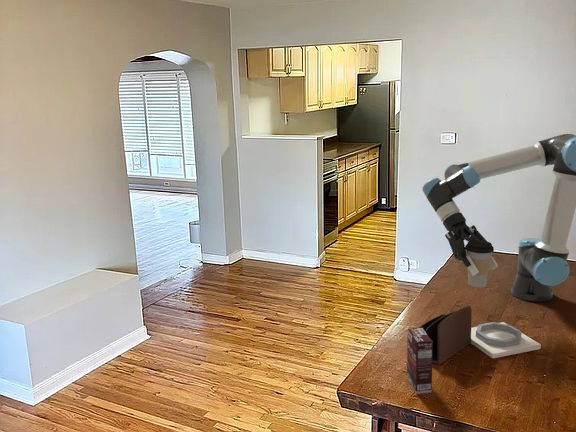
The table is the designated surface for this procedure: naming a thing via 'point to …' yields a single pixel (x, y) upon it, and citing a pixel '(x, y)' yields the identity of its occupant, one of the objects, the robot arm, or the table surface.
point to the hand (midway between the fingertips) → (485, 271)
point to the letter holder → (449, 333)
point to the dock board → (501, 350)
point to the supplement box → (419, 360)
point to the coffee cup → (479, 261)
